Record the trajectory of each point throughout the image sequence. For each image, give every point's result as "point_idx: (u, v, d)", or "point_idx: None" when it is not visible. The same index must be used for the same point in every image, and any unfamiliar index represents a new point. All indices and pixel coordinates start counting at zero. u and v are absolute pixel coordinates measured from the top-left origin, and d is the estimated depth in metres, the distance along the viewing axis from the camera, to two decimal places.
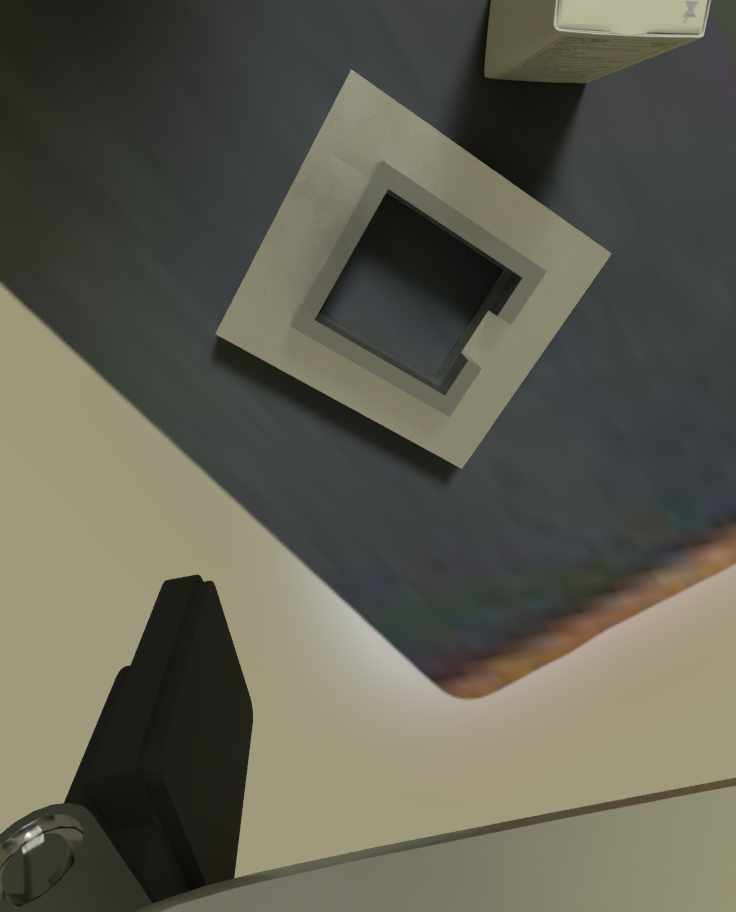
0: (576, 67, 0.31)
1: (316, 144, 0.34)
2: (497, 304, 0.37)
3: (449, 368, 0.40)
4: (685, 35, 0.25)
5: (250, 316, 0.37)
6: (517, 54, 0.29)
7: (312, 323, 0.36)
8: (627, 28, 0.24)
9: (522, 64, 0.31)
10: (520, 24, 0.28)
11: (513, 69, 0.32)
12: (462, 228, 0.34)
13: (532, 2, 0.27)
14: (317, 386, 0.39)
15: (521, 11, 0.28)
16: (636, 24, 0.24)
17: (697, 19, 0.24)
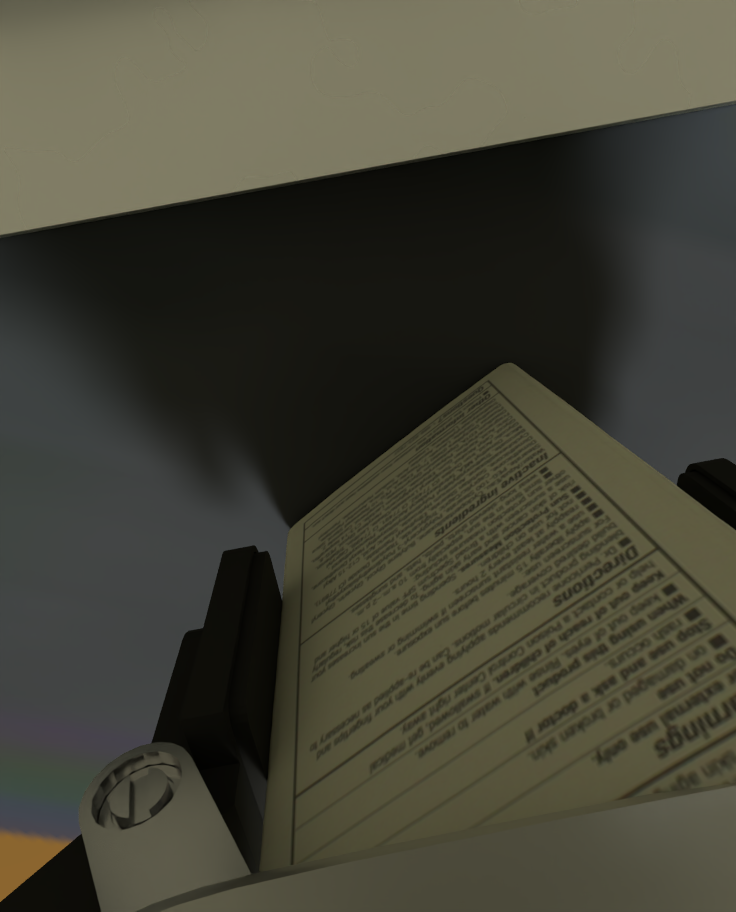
0: (401, 588, 0.09)
1: None
2: None
3: None
4: None
5: None
6: (693, 503, 0.07)
7: None
8: None
9: (563, 472, 0.08)
10: None
11: (528, 433, 0.10)
12: None
13: None
14: None
15: None
16: None
17: None
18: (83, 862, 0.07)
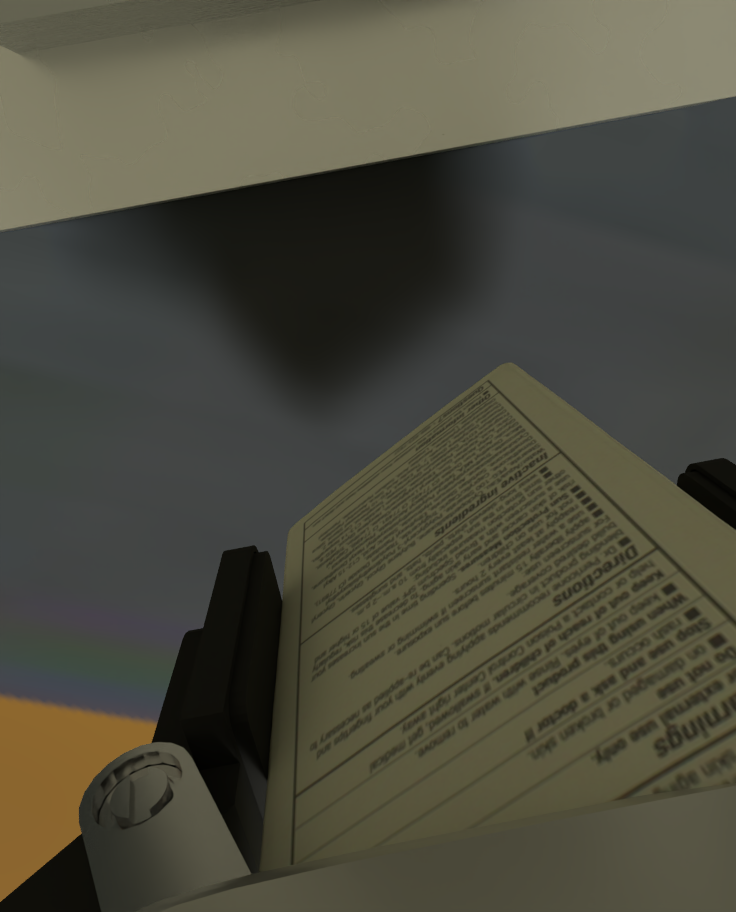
0: (401, 588, 0.09)
1: None
2: None
3: None
4: None
5: None
6: (693, 503, 0.07)
7: None
8: None
9: (562, 471, 0.08)
10: None
11: (528, 433, 0.10)
12: None
13: None
14: None
15: None
16: None
17: None
18: (84, 861, 0.07)
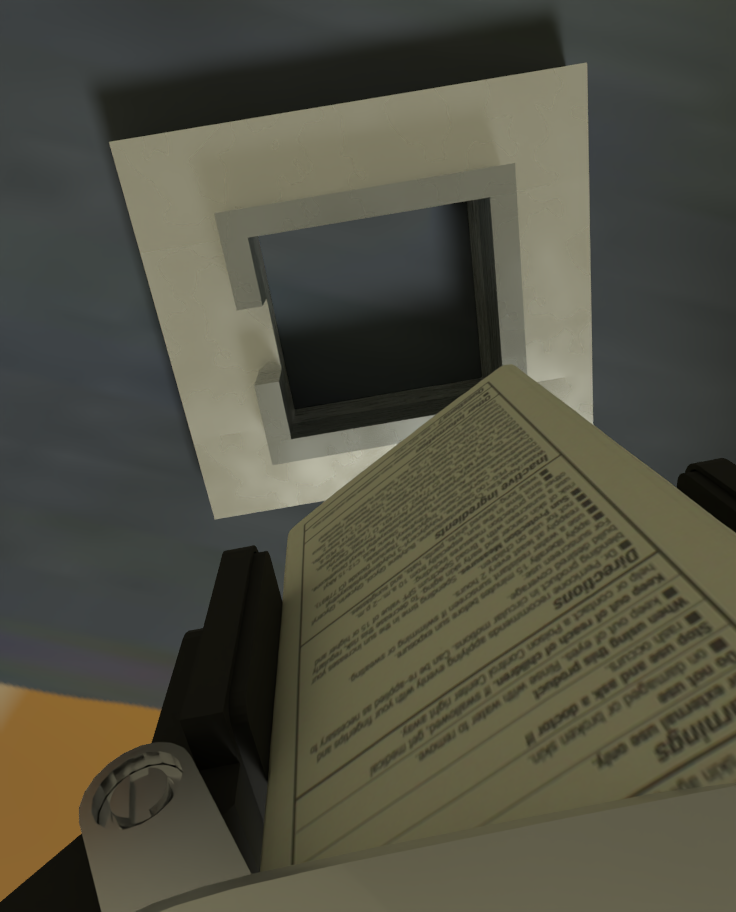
0: (401, 590, 0.09)
1: (588, 372, 0.28)
2: (283, 386, 0.27)
3: (260, 267, 0.26)
4: None
5: (554, 127, 0.24)
6: (693, 506, 0.07)
7: (489, 190, 0.23)
8: None
9: (563, 474, 0.08)
10: None
11: (529, 435, 0.10)
12: (398, 430, 0.26)
13: None
14: (406, 98, 0.24)
15: None
16: None
17: None
18: (84, 862, 0.07)
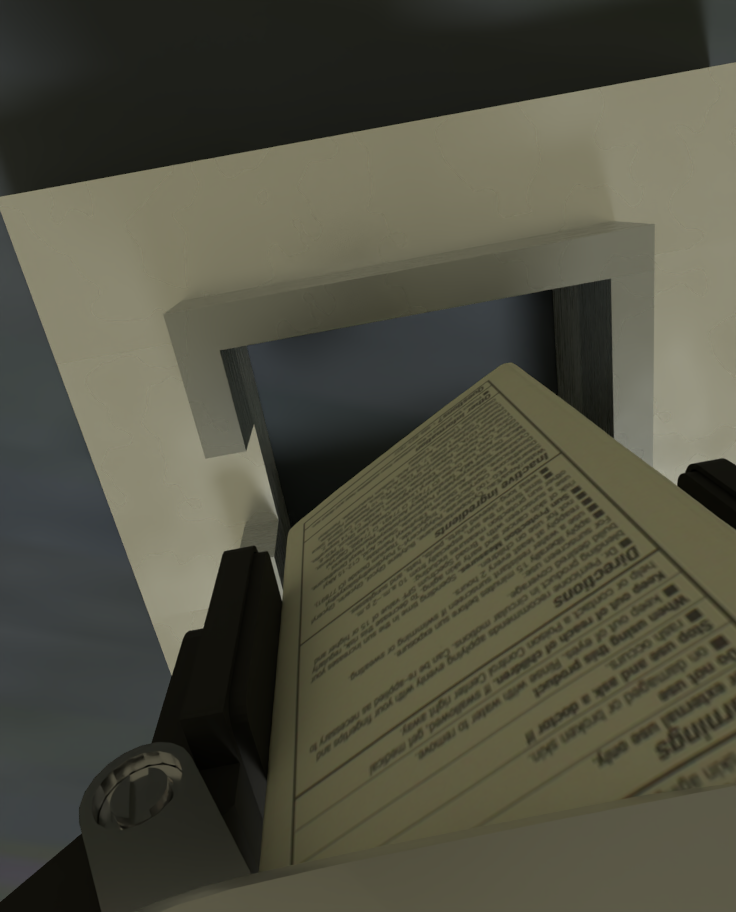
0: (401, 589, 0.09)
1: None
2: (281, 550, 0.18)
3: (243, 378, 0.17)
4: None
5: (703, 160, 0.15)
6: (695, 504, 0.07)
7: (610, 268, 0.14)
8: None
9: (563, 472, 0.08)
10: None
11: (529, 433, 0.10)
12: None
13: None
14: (471, 119, 0.15)
15: None
16: None
17: None
18: (83, 862, 0.07)
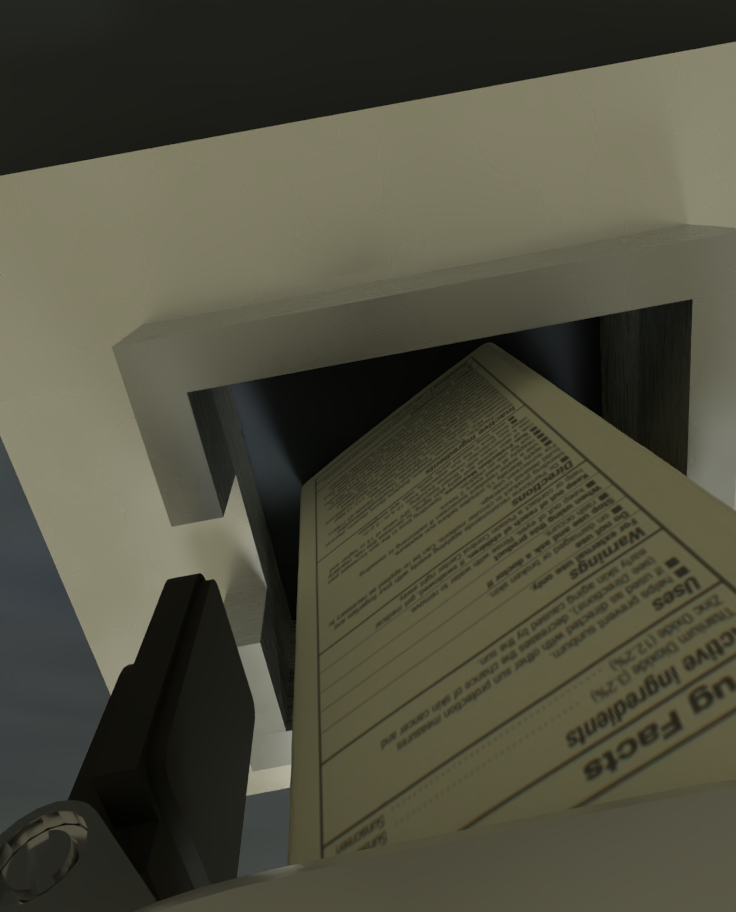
0: (398, 512, 0.11)
1: None
2: (269, 626, 0.14)
3: (222, 419, 0.13)
4: None
5: None
6: (614, 429, 0.09)
7: (692, 286, 0.11)
8: None
9: (525, 418, 0.11)
10: None
11: (501, 393, 0.12)
12: None
13: None
14: (511, 94, 0.11)
15: None
16: None
17: None
18: None
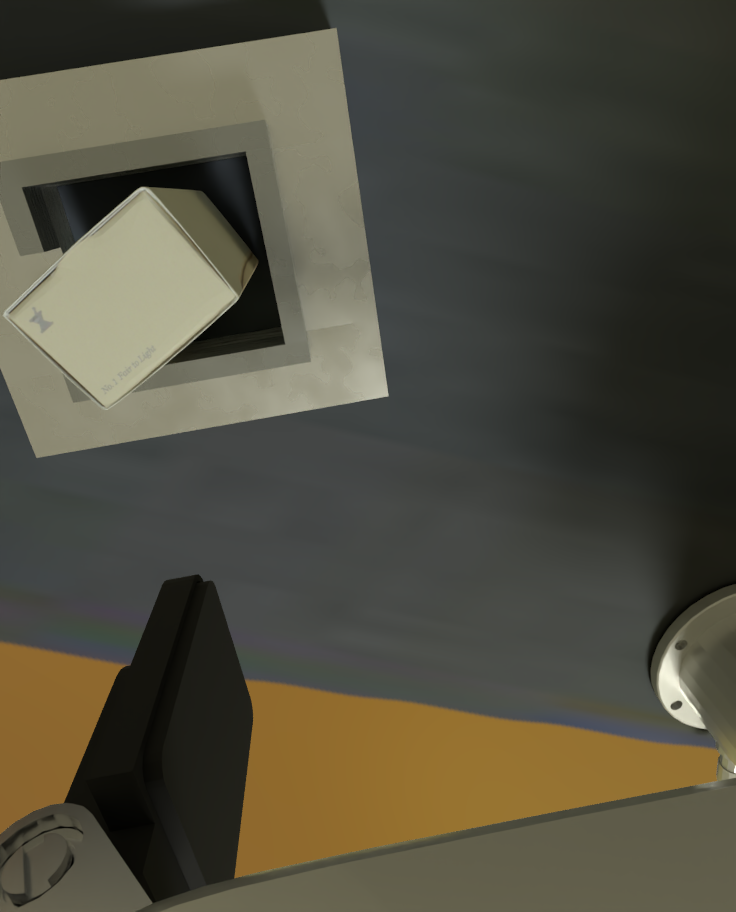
0: None
1: (374, 319, 0.31)
2: None
3: (52, 217, 0.28)
4: (18, 300, 0.19)
5: (313, 88, 0.27)
6: None
7: (244, 145, 0.25)
8: (77, 253, 0.19)
9: None
10: (197, 212, 0.23)
11: None
12: (188, 369, 0.29)
13: (200, 225, 0.22)
14: (170, 59, 0.26)
15: (206, 224, 0.24)
16: (73, 264, 0.19)
17: (24, 321, 0.19)
18: None
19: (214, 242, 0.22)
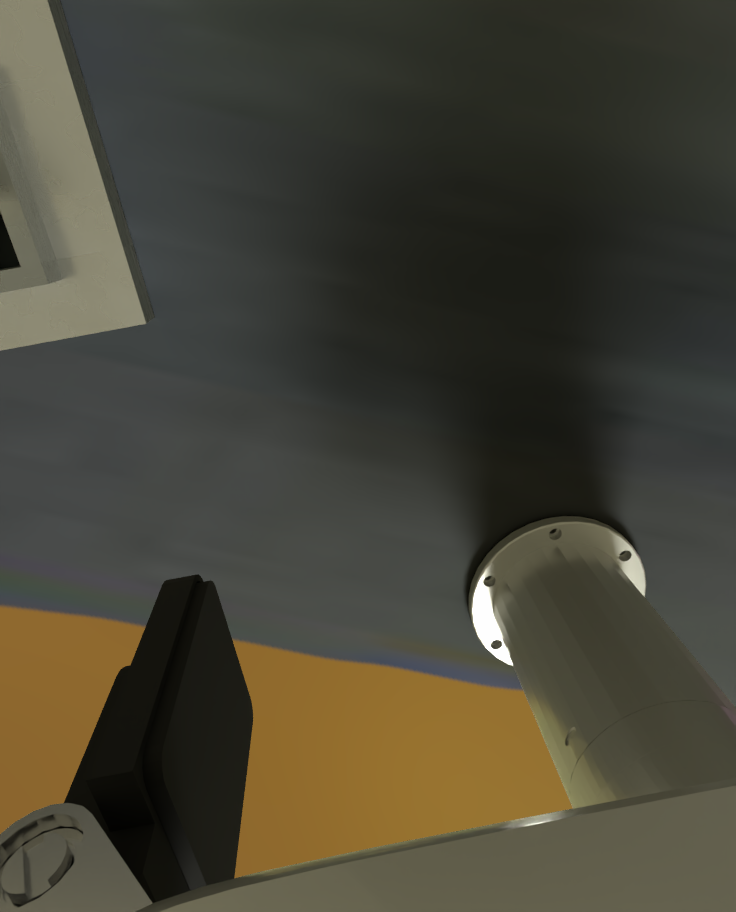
0: None
1: (119, 247, 0.33)
2: None
3: None
4: None
5: (25, 26, 0.29)
6: None
7: None
8: None
9: None
10: None
11: None
12: None
13: None
14: None
15: None
16: None
17: None
18: None
19: None
